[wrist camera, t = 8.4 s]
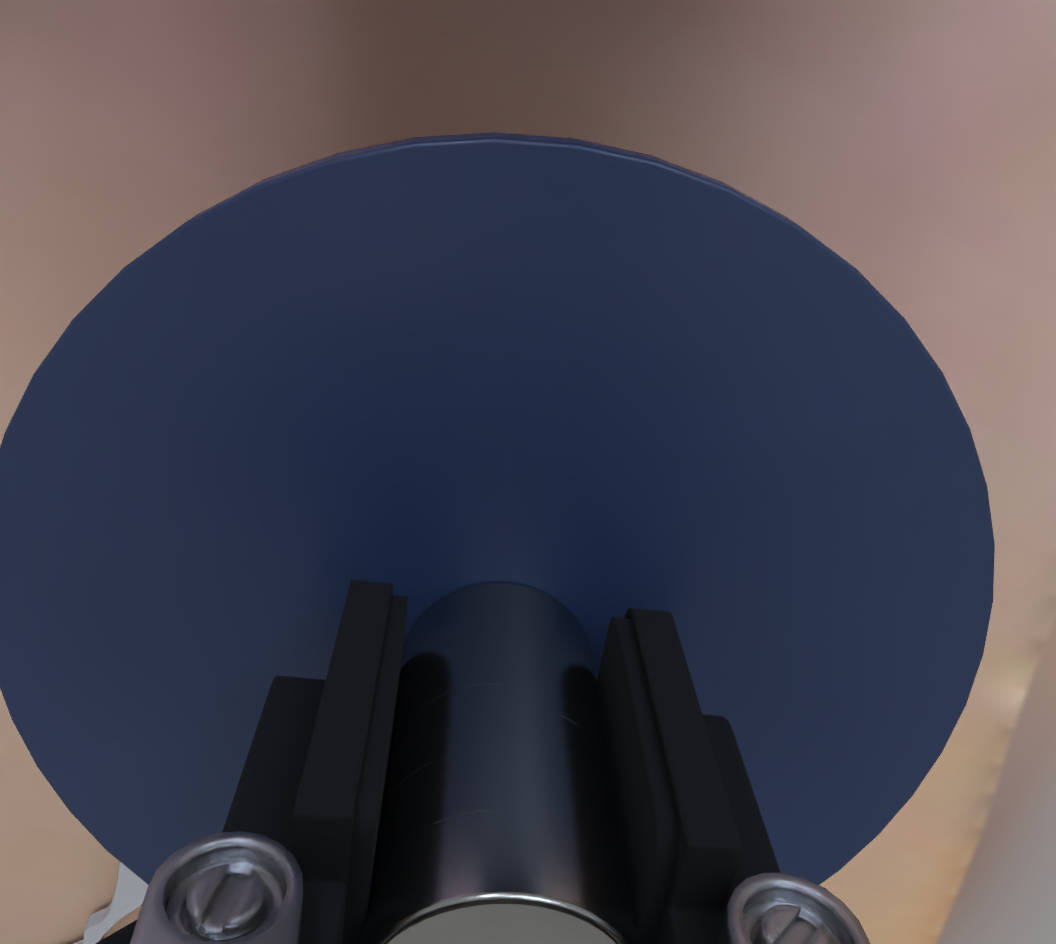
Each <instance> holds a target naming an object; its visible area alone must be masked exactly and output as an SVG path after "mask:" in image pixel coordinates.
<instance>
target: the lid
mask: <svg viewBox="0 0 1056 944" xmlns="http://www.w3.org/2000/svg"><path fill="white" fill-rule="evenodd" d="M993 579H994V537H993V529H992V521H991V514H990V506H989V498H988V491H987V485H986V481H985V478H984V475H983V471H982V468H981V465H980V461H979V458H978V455H977V451H976V448H975V445H974V441H973V438H972V434H971V431H970V428H969V426H968V424H967V422H966V420H965V418H964V416H963V414H962V412H961V410H960V408H959V406H958V403H957V401H956V399H955V397H954V395H953V393H952V391H951V389H950V387H949V385H948V383H947V381H946V379H945V377H944V375H943V373H942V371H941V370H940V368H939V367H938V365H937V364H936V363H935V361H934V360H933V358H932V357H931V356H930V354H929V353H928V351H927V350H926V348H925V347H924V346H923V344H922V343H921V341H920V340H919V338H918V337H917V336H916V334H915V333H914V331H913V330H912V329H911V327H910V326H909V324H908V323H907V321H906V320H905V319H904V318H903V317H902V316H901V314H900V313H899V312H898V311H897V310H896V309H895V308H894V307H893V306H892V305H891V304H890V303H889V302H888V301H887V300H886V299H885V298H884V297H883V296H882V295H881V294H880V293H879V292H878V291H877V290H876V289H875V288H874V287H873V286H872V285H871V284H870V283H869V281H868V280H867V279H866V278H865V277H864V276H863V275H862V274H861V273H860V272H859V271H858V270H857V269H856V268H854V267H853V266H852V265H850V264H849V263H848V262H846V261H845V260H844V259H842V258H841V257H840V256H839V255H837V254H836V253H835V252H833V251H832V250H831V249H829V248H828V247H827V246H825V245H824V244H823V243H821V242H820V241H819V240H817V239H816V238H815V237H813V236H812V235H811V234H809V233H808V232H807V231H805V230H804V229H803V228H802V227H800V226H799V225H797V224H796V223H794V222H793V221H792V220H790V219H789V218H787V217H785V216H784V215H782V214H780V213H778V212H776V211H774V210H773V209H771V208H769V207H767V206H765V205H763V204H762V203H760V202H758V201H756V200H754V199H752V198H751V197H749V196H747V195H745V194H743V193H741V192H740V191H738V190H736V189H734V188H732V187H730V186H729V185H727V184H725V183H723V182H721V181H718V180H716V179H713V178H710V177H708V176H705V175H702V174H700V173H697V172H694V171H691V170H689V169H686V168H683V167H681V166H678V165H675V164H673V163H670V162H667V161H665V160H662V159H659V158H656V157H654V156H651V155H647V154H642V153H638V152H633V151H629V150H624V149H620V148H615V147H610V146H606V145H601V144H597V143H592V142H587V141H583V140H578V139H573V138H560V137H547V136H534V135H521V134H508V133H478V134H462V135H446V136H430V137H415V138H410V139H405V140H400V141H395V142H390V143H385V144H380V145H375V146H370V147H365V148H361V149H356V150H351V151H346V152H341V153H337V154H334V155H331V156H328V157H325V158H322V159H320V160H317V161H314V162H311V163H308V164H306V165H303V166H300V167H297V168H294V169H292V170H289V171H286V172H283V173H280V174H277V175H275V176H272V177H269V178H266V179H264V180H262V181H260V182H258V183H256V184H254V185H252V186H250V187H248V188H247V189H245V190H243V191H241V192H239V193H237V194H235V195H233V196H231V197H230V198H228V199H226V200H224V201H222V202H220V203H218V204H216V205H214V206H213V207H211V208H209V209H207V210H205V211H203V212H201V213H199V214H197V215H196V216H194V217H193V218H191V219H190V220H188V221H187V222H185V223H184V224H183V225H181V226H180V227H179V228H177V229H176V230H174V231H173V232H172V233H170V234H169V235H168V236H166V237H165V238H164V239H162V240H161V241H160V242H158V243H157V244H155V245H154V246H153V247H151V248H150V249H149V250H147V251H146V252H145V253H143V254H142V255H140V256H139V257H138V258H136V259H135V260H134V261H132V262H131V263H130V264H128V265H127V266H126V267H124V268H123V269H122V270H121V271H120V272H119V273H118V274H117V275H116V276H115V277H114V278H113V279H112V280H111V281H110V282H109V283H108V284H107V285H106V286H105V287H104V288H103V289H102V290H101V291H100V292H99V293H98V294H97V295H96V296H95V297H94V298H93V299H92V300H91V301H90V302H89V303H88V304H87V306H86V307H85V308H84V309H83V310H82V311H81V312H80V313H79V314H78V315H77V316H76V317H75V318H74V319H73V320H72V321H71V323H70V324H69V326H68V327H67V328H66V330H65V331H64V333H63V334H62V335H61V337H60V338H59V340H58V341H57V342H56V344H55V345H54V347H53V348H52V349H51V351H50V352H49V353H48V355H47V356H46V358H45V359H44V360H43V362H42V363H41V365H40V366H39V367H38V369H37V370H36V372H35V373H34V374H33V377H32V379H31V381H30V383H29V385H28V387H27V389H26V391H25V393H24V395H23V397H22V399H21V401H20V403H19V405H18V407H17V409H16V411H15V413H14V415H13V417H12V419H11V421H10V423H9V425H8V427H7V429H6V431H5V434H4V437H3V440H2V444H1V447H0V688H1V691H2V694H3V696H4V699H5V702H6V705H7V707H8V710H9V713H10V715H11V718H12V720H13V722H14V724H15V726H16V728H17V730H18V731H19V733H20V735H21V737H22V739H23V741H24V743H25V744H26V746H27V748H28V750H29V752H30V754H31V756H32V757H33V759H34V761H35V763H36V765H37V767H38V768H39V769H40V771H41V772H42V774H43V775H44V776H45V778H46V779H47V780H48V782H49V783H50V785H51V786H52V787H53V789H54V790H55V791H56V793H57V794H58V796H59V797H60V798H61V800H62V801H63V802H64V804H65V805H66V807H67V808H68V809H69V811H70V812H71V813H72V814H73V815H74V816H75V817H76V818H77V819H78V820H79V821H80V822H81V823H82V825H83V826H84V827H85V828H86V829H87V830H88V831H89V832H90V833H91V834H92V835H93V836H94V837H95V838H96V839H97V840H98V842H99V843H100V844H101V845H102V846H103V847H104V848H105V849H106V850H107V851H108V852H109V853H111V854H112V855H113V856H114V857H115V858H117V859H118V860H119V861H120V862H121V863H123V864H124V865H125V866H126V867H127V868H129V869H130V870H131V871H132V872H133V873H134V874H136V875H137V876H138V877H139V878H140V879H142V880H143V881H144V882H145V883H146V884H148V885H149V884H150V882H151V880H152V878H153V876H154V874H155V872H156V870H157V869H158V868H159V867H160V866H161V865H162V864H163V863H164V862H165V861H166V860H167V859H168V857H169V856H170V855H171V854H172V853H174V852H175V851H177V850H179V849H180V848H182V847H184V846H185V845H187V844H189V843H190V842H192V841H194V840H197V839H200V838H203V837H206V836H209V835H212V834H215V833H222V831H223V828H224V825H225V822H226V819H227V816H228V813H229V810H230V807H231V804H232V801H233V798H234V795H235V792H236V789H237V786H238V783H239V780H240V777H241V774H242V771H243V768H244V765H245V762H246V759H247V756H248V753H249V750H250V747H251V744H252V741H253V738H254V735H255V732H256V729H257V725H258V722H259V719H260V716H261V713H262V710H263V707H264V704H265V701H266V698H267V695H268V692H269V689H270V686H271V684H272V681H273V679H274V677H275V676H276V675H279V676H290V677H301V678H312V679H323V680H326V677H327V673H328V669H329V665H330V661H331V657H332V653H333V649H334V645H335V641H336V637H337V633H338V629H339V625H340V621H341V617H342V613H343V609H344V605H345V601H346V597H347V593H348V589H349V585H350V582H351V580H361V581H371V582H381V583H391V584H393V595H399V596H408V607H407V617H406V626H405V636H404V646H403V655H402V665H401V673H400V680H399V688H398V695H397V702H396V709H395V716H394V724H393V731H392V738H391V745H390V752H389V760H388V767H387V774H386V781H385V789H384V796H383V803H382V810H381V817H380V825H379V832H378V839H377V846H376V853H375V861H374V868H373V875H372V882H371V889H370V897H369V904H368V911H367V918H366V922H365V925H364V929H363V934H362V940H361V944H638V940H637V934H636V928H635V922H634V915H633V909H632V903H631V897H630V890H629V884H628V878H627V871H626V865H625V859H624V852H623V846H622V840H621V833H620V827H619V821H618V814H617V808H616V802H615V796H614V789H613V783H612V777H611V770H610V764H609V758H608V751H607V745H606V739H605V732H604V726H603V720H602V714H601V707H600V701H599V695H598V688H597V678H598V674H599V669H600V664H601V660H602V655H603V650H604V645H605V641H606V636H607V631H608V627H609V623H610V620H611V618H612V617H618V618H624V616H625V613H626V611H627V609H628V608H638V609H648V610H657V611H667V612H670V613H671V614H672V616H673V619H674V622H675V625H676V629H677V632H678V635H679V638H680V642H681V645H682V648H683V652H684V655H685V658H686V662H687V665H688V668H689V672H690V675H691V678H692V682H693V685H694V688H695V692H696V695H697V698H698V702H699V705H700V708H701V712H702V714H705V715H715V716H724V717H725V718H726V719H727V720H728V721H729V723H730V725H731V727H732V730H733V733H734V736H735V739H736V742H737V745H738V748H739V751H740V754H741V757H742V759H743V762H744V765H745V768H746V771H747V774H748V777H749V780H750V783H751V786H752V789H753V792H754V795H755V798H756V801H757V804H758V807H759V810H760V813H761V816H762V819H763V822H764V825H765V828H766V831H767V834H768V837H769V840H770V843H771V845H772V848H773V851H774V854H775V857H776V860H777V863H778V866H779V869H780V872H781V873H786V874H790V875H794V876H798V877H802V878H805V879H807V880H809V881H811V882H813V883H815V884H817V885H820V884H821V883H822V882H824V881H825V880H827V879H828V878H829V877H831V876H832V875H833V874H835V873H836V872H838V871H839V870H840V869H841V868H842V867H843V866H844V865H846V864H847V863H848V862H849V861H850V860H851V859H852V858H853V857H854V856H855V855H857V854H858V853H859V852H860V851H861V850H862V849H863V848H864V847H865V846H866V845H868V844H869V843H870V842H871V841H872V840H873V839H874V838H875V837H876V836H877V835H878V834H879V833H880V832H881V831H882V830H883V829H884V828H885V826H886V825H887V824H888V823H889V822H890V821H891V820H892V818H893V817H894V816H895V815H896V814H897V813H898V812H899V810H900V809H901V808H902V807H903V806H904V805H905V804H906V802H907V801H908V800H909V799H910V798H911V797H912V796H913V794H914V793H915V791H916V790H917V788H918V787H919V785H920V784H921V782H922V781H923V779H924V778H925V776H926V775H927V773H928V772H929V770H930V769H931V768H932V766H933V765H934V763H935V762H936V760H937V759H938V757H939V756H940V754H941V753H942V751H943V749H944V747H945V745H946V743H947V741H948V739H949V737H950V735H951V733H952V731H953V729H954V727H955V725H956V723H957V721H958V719H959V717H960V715H961V713H962V711H963V709H964V707H965V705H966V703H967V700H968V697H969V694H970V691H971V688H972V685H973V682H974V679H975V676H976V673H977V670H978V667H979V665H980V662H981V659H982V656H983V652H984V646H985V641H986V635H987V630H988V624H989V619H990V614H991V608H992V603H993Z"/></svg>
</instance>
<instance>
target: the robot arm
mask: <svg viewBox="0 0 1056 944" xmlns="http://www.w3.org/2000/svg"><path fill="white" fill-rule="evenodd" d="M407 607H408V596H399V595H393V584H391V583H381V582H371V581H361V580H351V582H350V585H349V589H348V593H347V597H346V601H345V605H344V609H343V613H342V617H341V621H340V625H339V629H338V633H337V637H336V641H335V645H334V649H333V653H332V657H331V661H330V665H329V669H328V673H327V677H326V680H323V679H312V678H301V677H290V676H279V675H276V676H275V677H274V679H273V681H272V684H271V686H270V689H269V692H268V695H267V698H266V701H265V704H264V707H263V710H262V713H261V716H260V719H259V722H258V725H257V729H256V732H255V735H254V738H253V741H252V744H251V747H250V750H249V753H248V756H247V759H246V762H245V765H244V768H243V771H242V774H241V777H240V780H239V783H238V786H237V789H236V792H235V795H234V798H233V801H232V804H231V807H230V810H229V813H228V816H227V819H226V822H225V825H224V828H223V831H222V833H215V834H212V835H209V836H206V837H203V838H200V839H197V840H194V841H192V842H190V843H189V844H187V845H185V846H184V847H182V848H180V849H179V850H177V851H175V852H174V853H172V854H171V855H170V856H169V857H168V859H167V860H166V861H165V862H164V863H163V864H162V865H161V866H160V867H159V868H158V869H157V870H156V872H155V874H154V876H153V878H152V880H151V882H150V884H149V886H148V888H147V891H146V894H145V897H144V900H143V904H142V907H141V910H140V913H139V916H138V920H136V921H134V922H132V923H131V924H129V925H127V926H125V927H124V928H122V929H120V930H118V931H117V932H115V933H113V934H112V935H110V936H108V937H106V938H105V939H103V940H101V941H99V942H98V943H96V944H361V940H362V934H363V929H364V925H365V922H366V918H367V911H368V904H369V897H370V889H371V882H372V875H373V868H374V861H375V853H376V846H377V839H378V832H379V825H380V817H381V810H382V803H383V796H384V789H385V781H386V774H387V767H388V760H389V752H390V745H391V738H392V731H393V724H394V716H395V709H396V702H397V695H398V688H399V680H400V673H401V665H402V655H403V646H404V636H405V626H406V617H407ZM597 688H598V695H599V701H600V707H601V714H602V720H603V726H604V732H605V739H606V745H607V751H608V758H609V764H610V770H611V777H612V783H613V789H614V796H615V802H616V808H617V814H618V821H619V827H620V833H621V840H622V846H623V852H624V859H625V865H626V871H627V878H628V884H629V890H630V897H631V903H632V909H633V915H634V922H635V928H636V934H637V940H638V944H870V943H869V940H868V938H867V936H866V934H865V932H864V930H863V928H862V926H861V924H860V922H859V920H858V919H857V918H856V916H855V915H854V914H853V913H852V912H851V911H850V909H849V908H848V907H847V906H846V905H845V904H844V903H843V902H842V901H841V900H840V899H838V898H837V897H836V896H834V895H833V894H832V893H830V892H829V891H828V890H826V889H825V888H823V887H821V886H819V885H817V884H815V883H813V882H811V881H809V880H807V879H805V878H802V877H798V876H794V875H790V874H786V873H781V872H780V869H779V866H778V863H777V860H776V857H775V854H774V851H773V848H772V845H771V843H770V840H769V837H768V834H767V831H766V828H765V825H764V822H763V819H762V816H761V813H760V810H759V807H758V804H757V801H756V798H755V795H754V792H753V789H752V786H751V783H750V780H749V777H748V774H747V771H746V768H745V765H744V762H743V759H742V757H741V754H740V751H739V748H738V745H737V742H736V739H735V736H734V733H733V730H732V727H731V725H730V723H729V721H728V720H727V719H726V718H725V717H724V716H715V715H705V714H702V712H701V708H700V705H699V702H698V698H697V695H696V692H695V688H694V685H693V682H692V678H691V675H690V672H689V668H688V665H687V662H686V658H685V655H684V652H683V648H682V645H681V642H680V638H679V635H678V632H677V629H676V625H675V622H674V619H673V616H672V614H671V613H670V612H667V611H657V610H648V609H638V608H628V609H627V611H626V613H625V616H624V618H618V617H612V618H611V620H610V623H609V627H608V631H607V636H606V641H605V645H604V650H603V655H602V660H601V664H600V669H599V674H598V678H597Z"/></svg>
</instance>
